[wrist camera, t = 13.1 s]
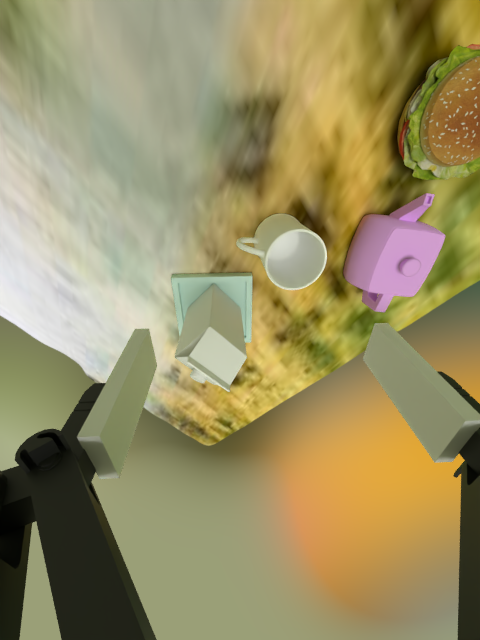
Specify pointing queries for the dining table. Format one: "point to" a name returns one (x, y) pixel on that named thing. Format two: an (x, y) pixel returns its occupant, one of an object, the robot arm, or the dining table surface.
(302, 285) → the mug
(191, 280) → the tray
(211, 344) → the milk carton
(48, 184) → the dining table surface
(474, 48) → the food
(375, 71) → the dining table surface
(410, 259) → the teapot
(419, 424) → the robot arm
